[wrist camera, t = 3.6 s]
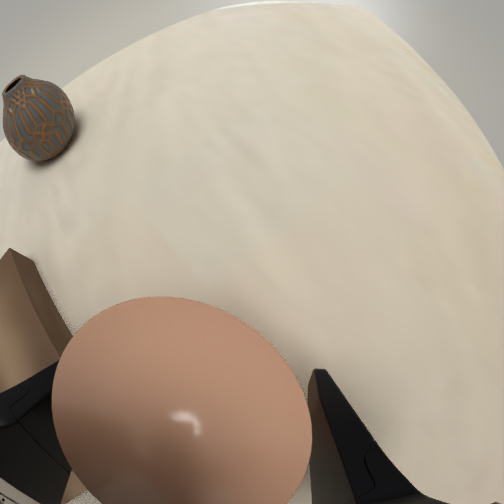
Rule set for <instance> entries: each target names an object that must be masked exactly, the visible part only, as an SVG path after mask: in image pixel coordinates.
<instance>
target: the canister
mask: <svg viewBox="0 0 504 504" xmlns="http://www.w3.org/2000/svg"><path fill="white" fill-rule="evenodd" d="M52 414H53V421H54V426H55V430H56V434H57V438H58V441H59V443H60V446H61V449H62V451H63V453H64V455H65V457H66V459H67V461H68V463H69V465H70V466H71V468H72V470H73V471H74V473H75V474H76V476H77V477H78V479H79V480H80V481H81V482H82V483H83V485H84V486H85V487H86V488H87V489H88V491H89V492H90V493H91V494H92V495H93V496H94V497H96V498H97V499H98V500H99V501H100V502H101V503H102V504H286V503H287V502H288V501H289V500H290V499H291V497H292V496H293V494H294V493H295V492H296V490H297V489H298V487H299V485H300V483H301V481H302V479H303V477H304V475H305V473H306V470H307V466H308V463H309V459H310V454H311V446H312V424H311V419H310V414H309V408H308V405H307V402H306V399H305V396H304V393H303V391H302V388H301V386H300V385H299V383H298V381H297V379H296V377H295V375H294V373H293V371H292V370H291V369H290V367H289V366H288V364H287V363H286V361H285V360H284V359H283V357H282V356H281V355H280V354H279V353H278V352H277V351H276V349H275V348H274V347H273V346H272V345H271V344H270V343H269V342H268V341H267V340H266V339H265V338H263V337H262V336H261V335H260V334H259V333H258V332H256V331H255V330H254V329H253V328H251V327H250V326H248V325H247V324H245V323H244V322H242V321H241V320H239V319H238V318H236V317H234V316H232V315H230V314H228V313H226V312H224V311H222V310H220V309H217V308H215V307H212V306H209V305H207V304H204V303H201V302H196V301H192V300H188V299H184V298H174V297H146V298H140V299H133V300H129V301H126V302H123V303H120V304H117V305H114V306H112V307H110V308H108V309H106V310H104V311H102V312H100V313H99V314H97V315H96V316H94V317H93V318H91V319H90V320H89V321H88V322H87V323H86V324H85V325H83V326H82V327H81V328H80V329H79V330H78V331H77V333H76V334H75V335H74V336H73V338H72V339H71V340H70V342H69V343H68V345H67V346H66V348H65V350H64V351H63V353H62V356H61V358H60V360H59V363H58V365H57V369H56V372H55V376H54V381H53V388H52Z"/></svg>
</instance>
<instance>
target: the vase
mask: <svg viewBox="0 0 504 504" xmlns="http://www.w3.org/2000/svg"><path fill="white" fill-rule="evenodd" d="M2 95H3V102H4V109H3V129H4V132H5V136H6V138H7V140H8V142H9V144H10V146H11V147H12V148H13V149H14V150H15V151H16V152H17V153H18V154H19V155H20V156H22V157H24V158H26V159H28V160H31V161H44V160H48V159H51V158H53V157H55V156H57V155H58V154H59V153H60V152H61V151H62V150H63V149H64V148H65V147H66V146H67V144H68V143H69V141H70V139H71V137H72V134H73V130H74V125H75V116H74V111H73V107H72V105H71V102H70V100H69V99H68V97H67V95H66V94H65V93H64V92H63V90H61V89H60V88H59V87H58V86H56V85H55V84H53V83H51V82H48V81H44V80H38V79H32V78H29V77H27V76H25V75H20V76H18V77H16V78H15V79H14V80H12V81H11V82H10V83H9V84H8V85H7V86H6V88H5V89H4V91H3V93H2Z"/></svg>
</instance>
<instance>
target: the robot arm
mask: <svg viewBox="0 0 504 504" xmlns="http://www.w3.org/2000/svg"><path fill="white" fill-rule="evenodd" d="M58 363H59V360H58V361H56V362H55V363H53V364H51V365H49V366H48V367H46V368H44V369H43V370H41V371H39V372H38V373H36V374H34V375H33V376H32V377H29V378H28V379H26V380H24V381H22V382H21V383H19V384H17V385H15V386H13V387H11V388H9V389H7V390H5V391H3V392H1V393H0V504H36V502H38V503H40V504H61V501H62V498H63V495H64V492H65V489H66V486H67V483H68V480H69V477H70V473H71V471H72V468H71V466H70V465H69V463H68V461H67V459H66V457H65V455H64V453H63V451H62V449H61V446H60V443H59V441H58V438H57V434H56V430H55V426H54V421H53V414H52V388H53V381H54V376H55V372H56V369H57V365H58ZM308 408H309V414H310V419H311V424H312V446H311V454H310V459H309V462H310V476H311V492H312V504H448V503H445V502H442V501H439V500H436V499H433V498H430V497H428V496H426V495H424V494H422V493H421V492H420V491H418V490H417V489H416V488H415V487H414V486H413V485H412V484H411V483H410V482H409V481H408V479H407V478H406V477H405V476H404V475H403V474H402V473H401V472H400V471H399V470H398V469H397V468H396V467H395V465H394V464H393V463H392V462H391V461H390V460H389V458H388V457H387V456H386V455H385V453H384V452H383V451H382V449H381V448H380V447H379V445H378V444H377V442H376V441H375V440H374V438H373V437H372V435H371V434H370V432H369V431H368V429H367V428H366V427H365V425H364V424H363V422H362V421H361V419H360V418H359V417H358V415H357V414H356V412H355V411H354V409H353V408H352V406H351V405H350V404H349V402H348V401H347V399H346V398H345V396H344V395H343V394H342V392H341V391H340V389H339V388H338V386H337V385H336V383H335V382H334V381H333V379H332V378H331V376H330V375H329V373H328V372H327V370H325V369H314V370H313V372H312V375H311V378H310V381H309V385H308ZM492 504H500V503H498V502H494V503H492Z"/></svg>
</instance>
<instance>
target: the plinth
mask: <svg viewBox="0 0 504 504" xmlns="http://www.w3.org/2000/svg"><path fill="white" fill-rule="evenodd" d="M72 338H73V336H72V335H71V333H70V332H69V330H68V328H67V326H66V325H65V323H64V321H63V320H62V318H61V316H60V314H59V312H58V311H57V309H56V307H55V305H54V303H53V301H52V299H51V297H50V296H49V294H48V292H47V290H46V288H45V286H44V283H43V281H42V279H41V277H40V275H39V273H38V271H37V268H36V266H35V264H34V262H33V261H32V260H31V259H29V258H27V257H25V256H23V255H21V254H20V253H18V252H16V251H14V250H13V249H11V248H9V249H8V250H7V252H6V253H5V254H4V256H3V257H2V258H1V259H0V393H1V392H3V391H5V390H7V389H9V388H11V387H13V386H15V385H17V384H19V383H21V382H22V381H24V380H26V379H28V378H29V377H32V376H33V375H34V374H36V373H38V372H39V371H41V370H43V369H44V368H46V367H48V366H49V365H51V364H53V363H55V362H56V361H58V360H60V358H61V356H62V353H63V351H64V350H65V348H66V346H67V345H68V343H69V342H70V340H71V339H72ZM86 490H87V488H86V487H85V486H84V485H83V483H82V482H81V481H80V480H79V479H78V477H77V476H76V474H75V473H74V471H73V470H72V471H71V473H70V477H69V480H68V483H67V486H66V489H65V492H64V495H63V498H62V501H61V504H65V503H67V502H68V501H70V500H72V499H73V498H75V497H76V496H78V495H79V494H81V493H83V492H84V491H86ZM36 504H40V503H38V502H36Z"/></svg>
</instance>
